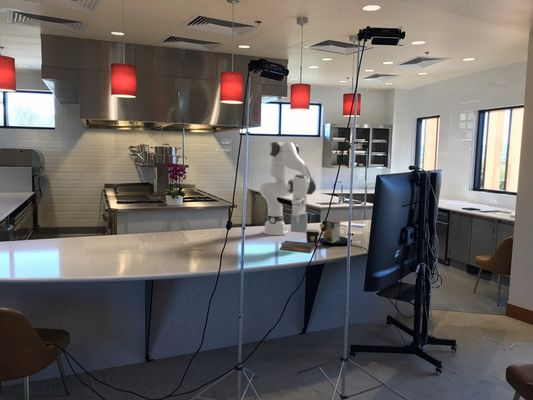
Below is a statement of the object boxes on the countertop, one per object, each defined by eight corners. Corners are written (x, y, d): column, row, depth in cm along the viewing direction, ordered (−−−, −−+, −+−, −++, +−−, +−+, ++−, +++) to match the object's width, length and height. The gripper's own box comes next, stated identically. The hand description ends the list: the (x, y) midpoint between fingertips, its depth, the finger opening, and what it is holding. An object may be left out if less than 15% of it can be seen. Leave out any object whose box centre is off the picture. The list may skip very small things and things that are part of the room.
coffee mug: (303, 245, 307) (304, 230, 306) (308, 243, 314) (309, 229, 313) (319, 247, 301) (320, 232, 300) (324, 245, 309) (325, 230, 308)
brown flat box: (286, 245, 305) (286, 239, 304) (315, 248, 298) (315, 242, 298) (279, 249, 292) (280, 243, 291) (310, 252, 285) (310, 246, 285)
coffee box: (323, 243, 315) (324, 220, 313) (329, 242, 319) (330, 219, 317) (332, 246, 307) (333, 222, 306) (339, 245, 311) (340, 221, 310)
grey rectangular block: (291, 230, 297) (292, 212, 295) (306, 232, 293) (307, 213, 292) (290, 231, 294) (291, 213, 292) (305, 232, 291) (306, 214, 289)
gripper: (299, 198, 302) (298, 219, 304) (290, 201, 283) (290, 223, 284) (308, 199, 300) (307, 219, 302) (300, 202, 281) (299, 224, 282)
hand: (299, 221), depth 293 cm, fingers closed on grey rectangular block, 3 cm apart
